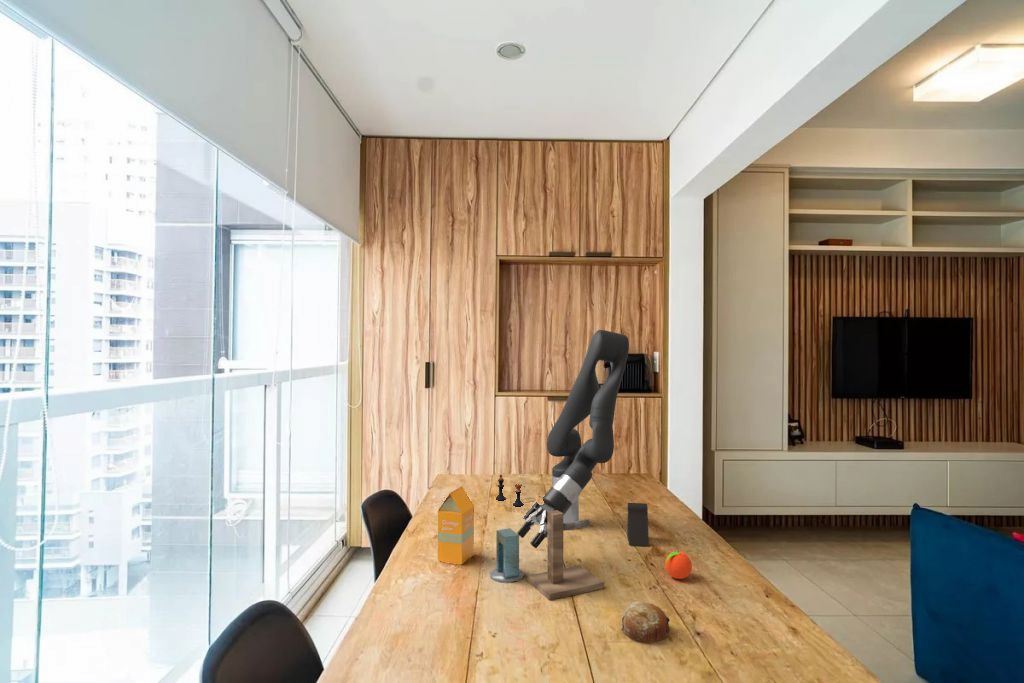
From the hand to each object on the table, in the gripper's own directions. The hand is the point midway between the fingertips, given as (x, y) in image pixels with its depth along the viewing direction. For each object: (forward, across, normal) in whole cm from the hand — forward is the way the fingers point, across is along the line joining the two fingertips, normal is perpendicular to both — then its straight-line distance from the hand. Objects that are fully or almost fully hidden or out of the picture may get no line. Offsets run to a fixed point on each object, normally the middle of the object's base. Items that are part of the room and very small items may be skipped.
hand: (526, 540), depth 149 cm
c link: (+10, +1, +1) cm, 10 cm away
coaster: (+10, +1, +2) cm, 10 cm away
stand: (+2, +12, +10) cm, 16 cm away
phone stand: (-24, -7, +36) cm, 44 cm away
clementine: (-19, +21, +30) cm, 41 cm away
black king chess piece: (-10, -65, +23) cm, 70 cm away
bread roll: (-1, +39, +13) cm, 41 cm away
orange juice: (+17, -17, -4) cm, 24 cm away
